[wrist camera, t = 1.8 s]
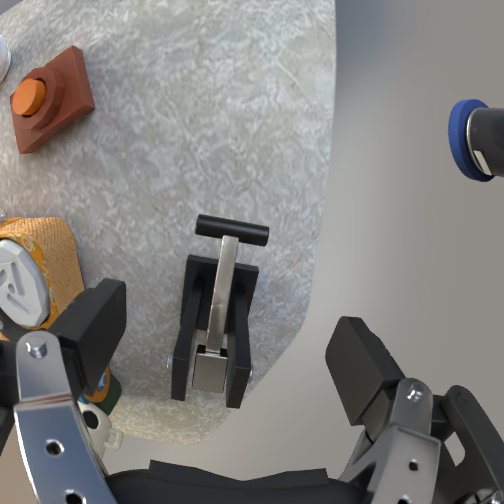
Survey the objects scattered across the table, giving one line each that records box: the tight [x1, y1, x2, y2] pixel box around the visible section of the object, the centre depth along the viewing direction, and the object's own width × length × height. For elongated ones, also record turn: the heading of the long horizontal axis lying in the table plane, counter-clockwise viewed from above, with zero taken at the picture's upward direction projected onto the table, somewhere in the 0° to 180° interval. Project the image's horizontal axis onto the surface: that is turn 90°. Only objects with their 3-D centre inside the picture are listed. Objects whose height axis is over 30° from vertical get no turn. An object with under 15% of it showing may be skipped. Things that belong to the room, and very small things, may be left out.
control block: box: [10, 45, 95, 154], centre depth 18 cm, size 10×8×4 cm
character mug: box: [78, 375, 124, 460], centre depth 27 cm, size 11×7×13 cm, turn 77°
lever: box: [192, 214, 269, 393], centre depth 19 cm, size 12×5×2 cm, turn 168°
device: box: [0, 214, 110, 405], centre depth 23 cm, size 23×8×30 cm
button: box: [13, 79, 46, 115], centre depth 16 cm, size 4×4×2 cm
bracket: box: [167, 255, 259, 409], centre depth 22 cm, size 8×7×13 cm
